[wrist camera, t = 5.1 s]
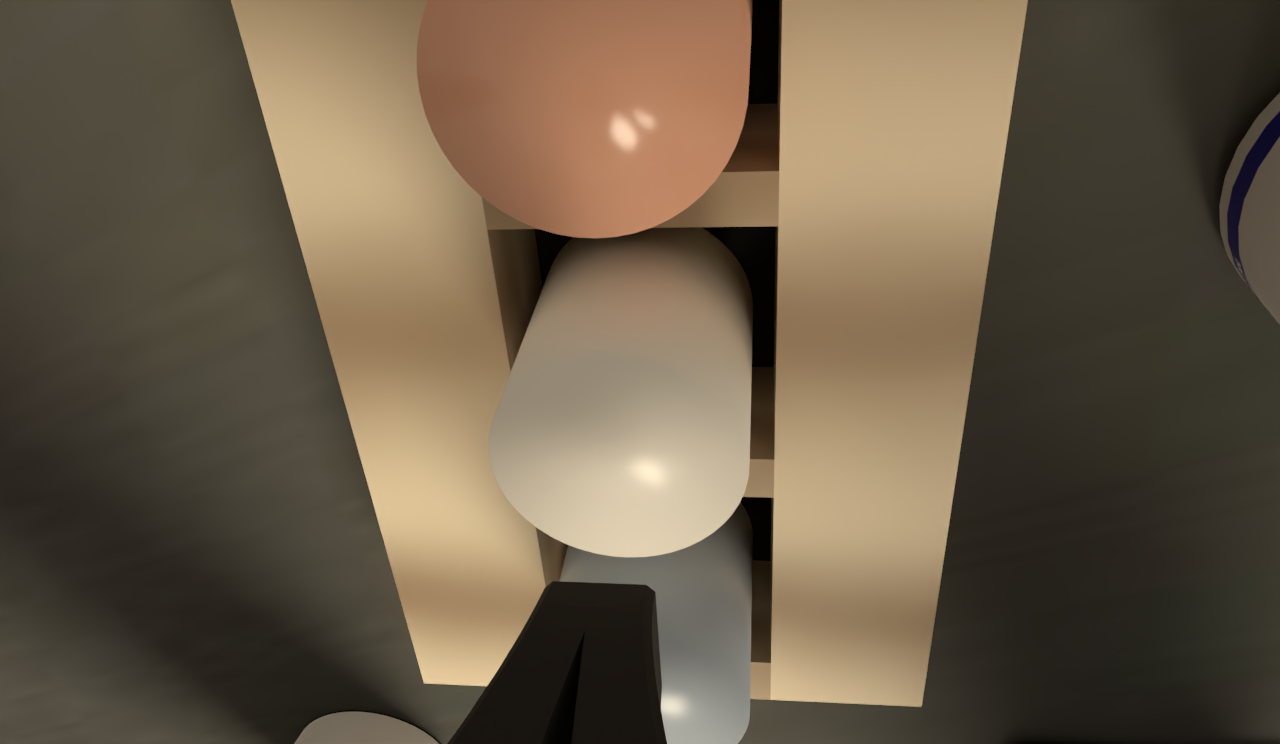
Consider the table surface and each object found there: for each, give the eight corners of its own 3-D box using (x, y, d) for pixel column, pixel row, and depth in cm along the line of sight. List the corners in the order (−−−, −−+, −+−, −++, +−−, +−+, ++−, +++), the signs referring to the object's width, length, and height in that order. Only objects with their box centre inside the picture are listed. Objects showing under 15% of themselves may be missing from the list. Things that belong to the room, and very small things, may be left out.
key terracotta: (752, 112, 16) (749, 237, 12) (519, 119, 16) (447, 240, 12) (753, -158, 14) (748, -106, 10) (484, -142, 14) (385, -87, 10)
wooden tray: (905, 601, 24) (921, 706, 21) (458, 585, 25) (424, 683, 22) (1019, -318, 13) (1077, -323, 11) (260, -260, 15) (159, -254, 12)
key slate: (752, 599, 22) (749, 778, 18) (583, 593, 22) (547, 767, 19) (752, 465, 20) (749, 638, 16) (565, 462, 20) (520, 629, 16)
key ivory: (752, 394, 19) (749, 561, 15) (556, 393, 19) (507, 553, 16) (753, 211, 17) (749, 353, 13) (532, 213, 17) (469, 351, 13)
